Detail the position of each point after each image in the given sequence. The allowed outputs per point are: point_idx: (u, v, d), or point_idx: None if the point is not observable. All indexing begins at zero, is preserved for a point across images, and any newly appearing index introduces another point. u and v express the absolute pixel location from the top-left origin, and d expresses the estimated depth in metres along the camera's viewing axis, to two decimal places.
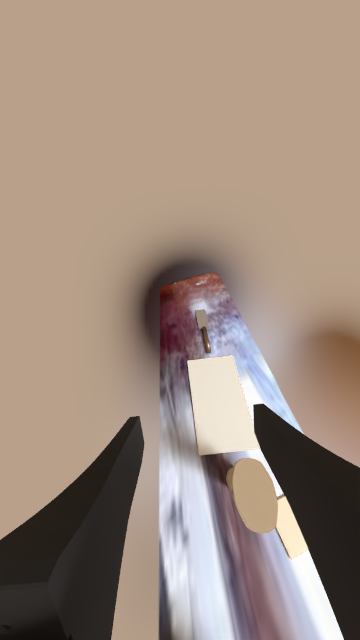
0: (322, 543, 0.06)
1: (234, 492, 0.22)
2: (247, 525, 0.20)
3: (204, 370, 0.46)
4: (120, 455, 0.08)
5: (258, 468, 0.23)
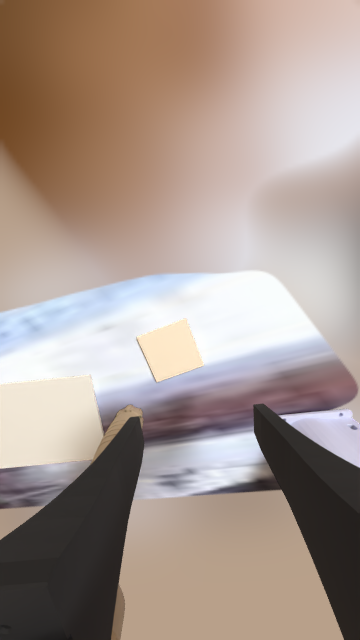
0: (322, 543, 0.06)
1: None
2: None
3: None
4: (120, 455, 0.08)
5: None
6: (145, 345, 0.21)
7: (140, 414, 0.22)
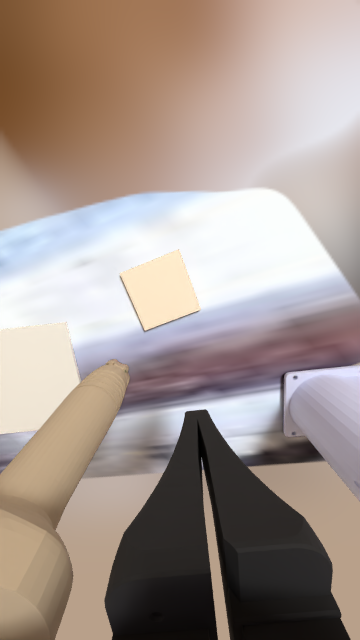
0: (220, 552, 0.06)
1: None
2: None
3: None
4: (197, 448, 0.08)
5: None
6: (130, 283, 0.17)
7: (125, 368, 0.18)
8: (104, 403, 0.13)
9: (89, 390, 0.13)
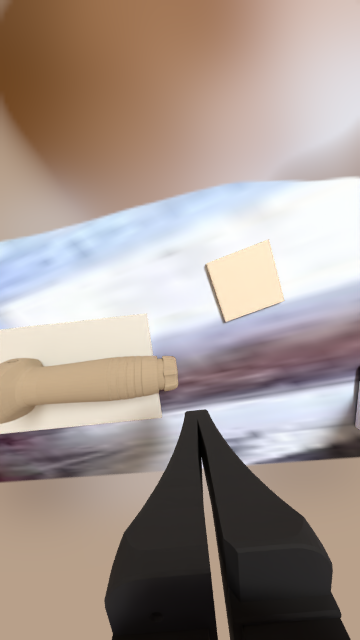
0: (219, 552, 0.06)
1: None
2: None
3: None
4: (197, 448, 0.08)
5: None
6: (216, 274, 0.17)
7: (165, 371, 0.16)
8: (97, 375, 0.15)
9: (105, 361, 0.16)
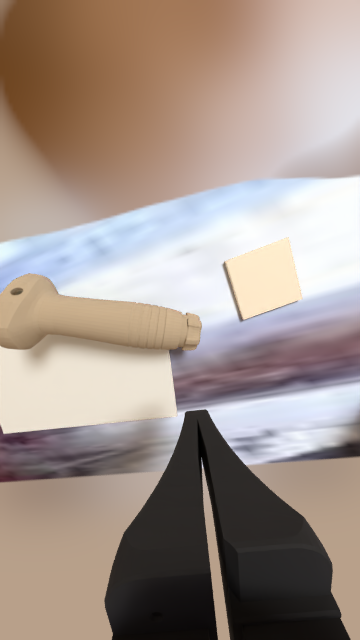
0: (219, 552, 0.06)
1: (5, 291, 0.13)
2: None
3: (20, 400, 0.20)
4: (197, 448, 0.08)
5: None
6: (235, 271, 0.17)
7: None
8: None
9: None
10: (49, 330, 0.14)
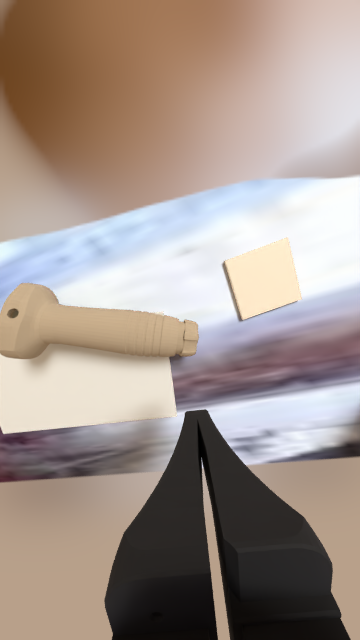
0: (220, 552, 0.06)
1: (2, 313, 0.13)
2: None
3: (20, 400, 0.20)
4: (197, 448, 0.08)
5: None
6: (234, 271, 0.17)
7: None
8: None
9: None
10: (53, 343, 0.15)
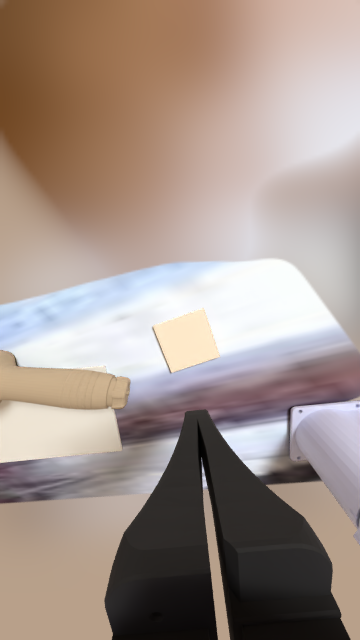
0: (220, 552, 0.06)
1: None
2: None
3: None
4: (197, 448, 0.08)
5: None
6: (161, 334, 0.21)
7: None
8: None
9: None
10: None
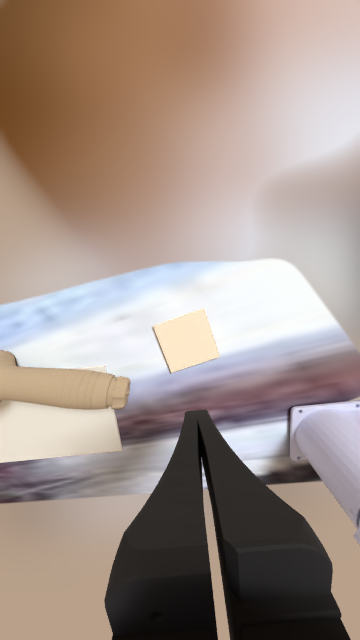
0: (220, 552, 0.06)
1: None
2: None
3: None
4: (197, 448, 0.08)
5: None
6: (161, 334, 0.21)
7: None
8: None
9: None
10: None
